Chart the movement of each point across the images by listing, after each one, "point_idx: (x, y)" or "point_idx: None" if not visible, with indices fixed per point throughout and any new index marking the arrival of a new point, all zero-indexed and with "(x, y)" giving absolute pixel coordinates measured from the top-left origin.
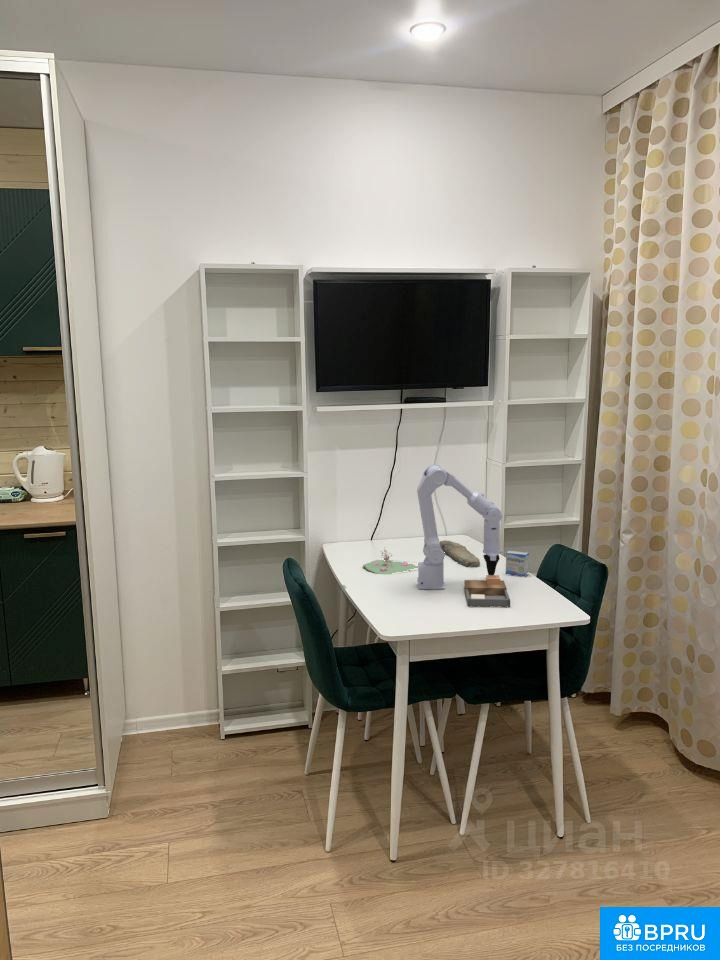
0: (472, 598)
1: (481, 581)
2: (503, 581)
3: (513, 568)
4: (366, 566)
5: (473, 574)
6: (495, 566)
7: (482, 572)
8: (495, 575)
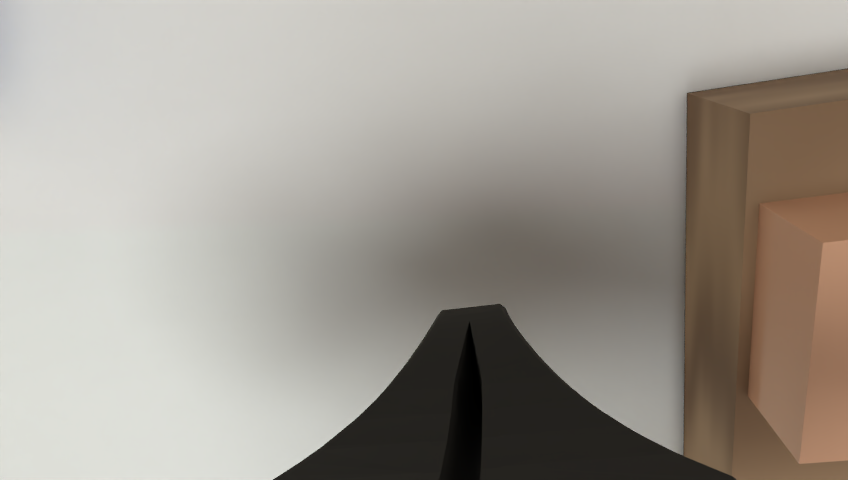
0: None
1: None
2: (821, 116)
3: None
4: None
5: (141, 467)
6: (565, 391)
7: (19, 385)
8: (832, 310)
